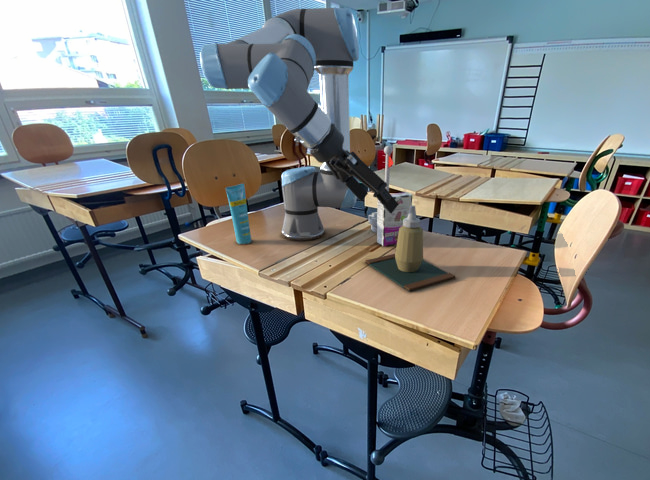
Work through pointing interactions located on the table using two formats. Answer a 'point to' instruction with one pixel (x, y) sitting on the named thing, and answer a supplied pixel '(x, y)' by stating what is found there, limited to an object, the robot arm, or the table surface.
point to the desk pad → (409, 273)
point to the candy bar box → (392, 219)
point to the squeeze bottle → (410, 243)
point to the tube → (239, 213)
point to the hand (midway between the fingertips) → (378, 202)
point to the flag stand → (387, 169)
